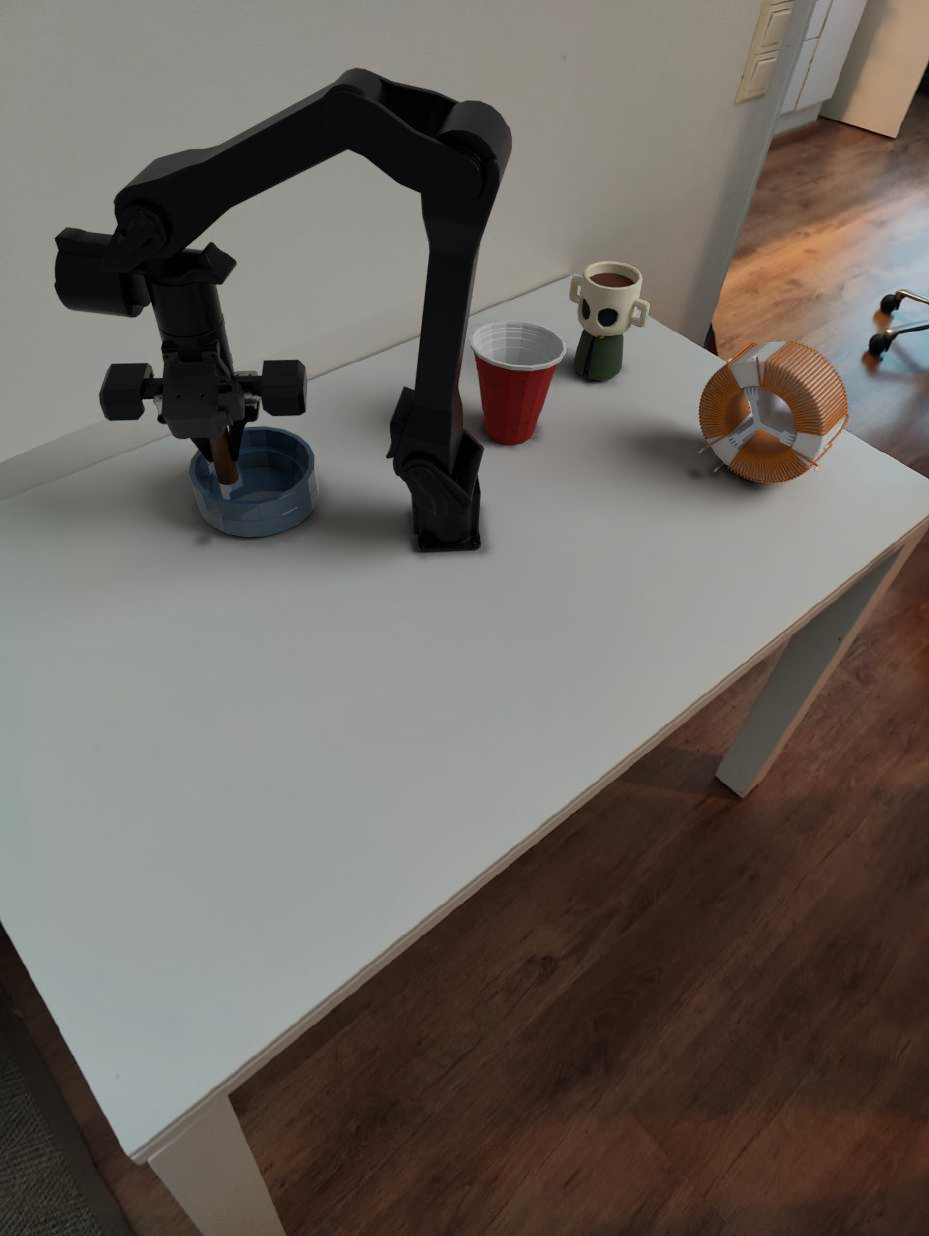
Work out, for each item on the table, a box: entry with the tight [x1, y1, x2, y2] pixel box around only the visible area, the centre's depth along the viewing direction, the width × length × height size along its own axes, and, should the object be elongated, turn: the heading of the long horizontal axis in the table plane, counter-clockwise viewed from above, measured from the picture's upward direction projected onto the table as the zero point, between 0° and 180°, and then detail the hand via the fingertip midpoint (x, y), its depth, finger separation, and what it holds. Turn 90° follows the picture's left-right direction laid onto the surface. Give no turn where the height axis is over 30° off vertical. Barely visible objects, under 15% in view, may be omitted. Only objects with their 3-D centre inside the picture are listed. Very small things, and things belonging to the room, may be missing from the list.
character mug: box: [568, 260, 651, 381], centre depth 103 cm, size 11×7×13 cm, turn 53°
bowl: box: [188, 425, 320, 538], centre depth 87 cm, size 13×13×5 cm
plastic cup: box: [469, 319, 568, 446], centre depth 94 cm, size 11×11×12 cm
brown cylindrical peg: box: [207, 426, 239, 485], centre depth 83 cm, size 2×2×9 cm
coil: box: [698, 339, 850, 485], centre depth 90 cm, size 7×15×15 cm, turn 49°
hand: (223, 459), depth 85 cm, fingers closed on brown cylindrical peg, 2 cm apart
